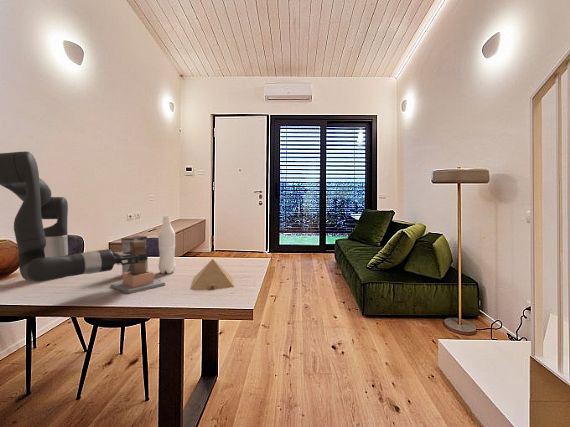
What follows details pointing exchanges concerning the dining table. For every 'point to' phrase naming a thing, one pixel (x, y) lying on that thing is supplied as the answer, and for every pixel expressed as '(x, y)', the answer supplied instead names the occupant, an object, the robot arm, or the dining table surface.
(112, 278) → the dining table surface
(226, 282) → the model pyramid
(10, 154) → the robot arm
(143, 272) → the walnut slat
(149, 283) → the end cap socket
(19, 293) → the dining table surface
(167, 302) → the dining table surface
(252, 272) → the dining table surface
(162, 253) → the water bottle
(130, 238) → the coffee box
